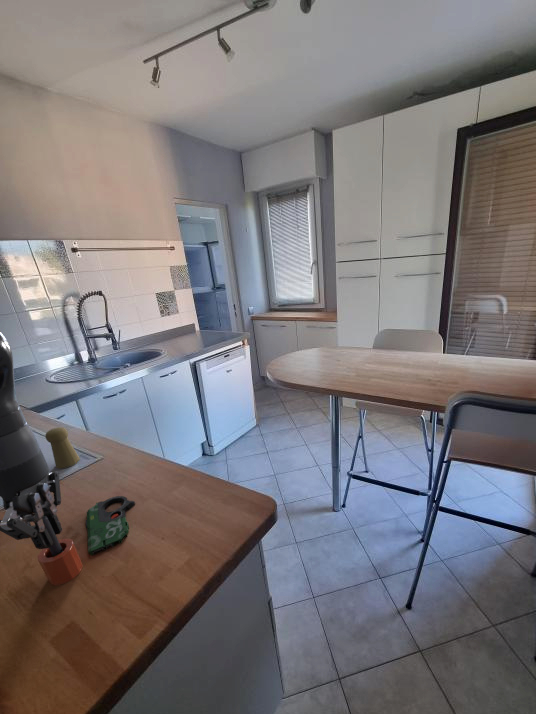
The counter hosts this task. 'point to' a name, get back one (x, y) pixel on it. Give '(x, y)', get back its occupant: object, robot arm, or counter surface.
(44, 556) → the pen cup
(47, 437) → the cork
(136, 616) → the counter surface
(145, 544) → the counter surface
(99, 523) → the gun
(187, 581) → the counter surface
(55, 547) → the dark gray rod
